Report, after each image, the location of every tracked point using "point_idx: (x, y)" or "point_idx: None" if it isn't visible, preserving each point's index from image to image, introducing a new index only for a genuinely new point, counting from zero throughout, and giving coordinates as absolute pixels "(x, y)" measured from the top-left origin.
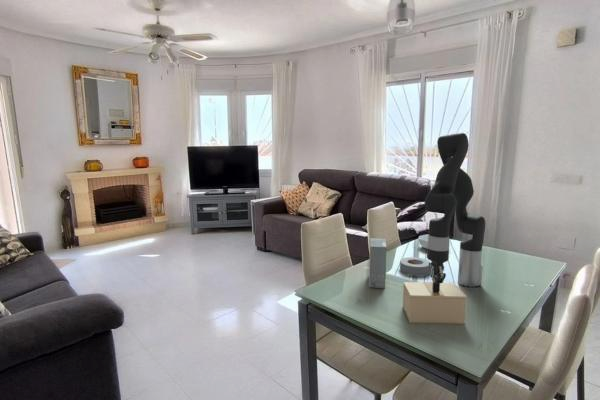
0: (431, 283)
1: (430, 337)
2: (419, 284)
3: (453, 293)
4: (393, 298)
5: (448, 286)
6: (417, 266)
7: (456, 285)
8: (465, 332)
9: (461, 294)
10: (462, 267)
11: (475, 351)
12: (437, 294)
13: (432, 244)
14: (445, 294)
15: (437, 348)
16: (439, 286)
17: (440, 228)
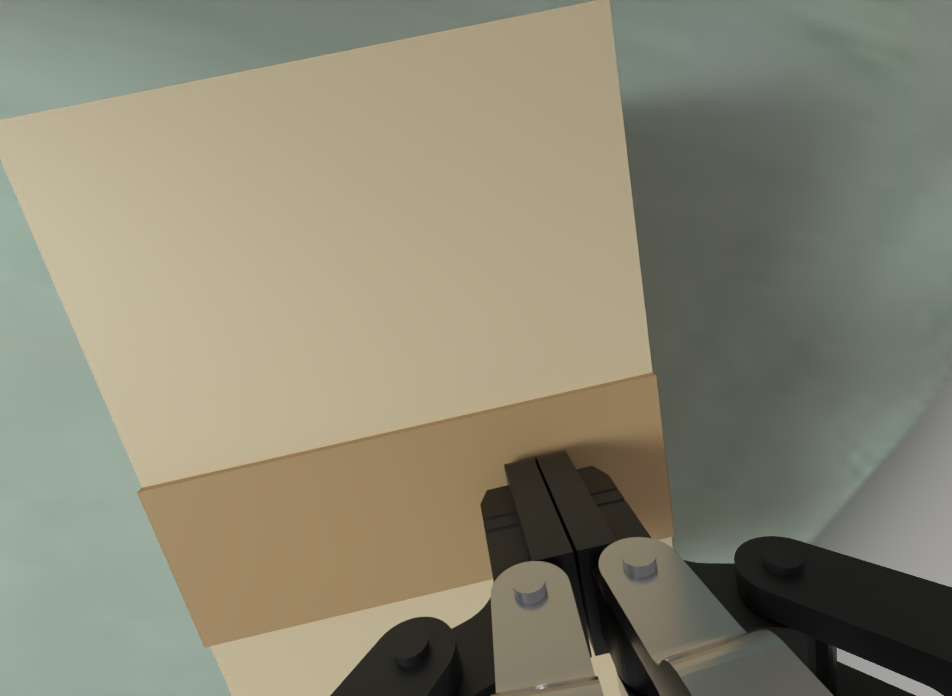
0: (215, 541)
1: (761, 399)
2: (310, 685)
3: (522, 222)
4: (204, 660)
5: (227, 273)
6: None
7: (108, 107)
8: (653, 128)
9: (538, 83)
10: None
11: (911, 103)
12: (636, 470)
13: None
14: (594, 355)
15: (887, 362)
16: (591, 500)
17: None
